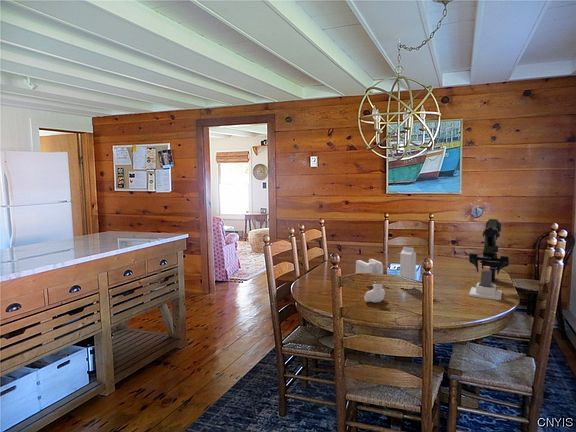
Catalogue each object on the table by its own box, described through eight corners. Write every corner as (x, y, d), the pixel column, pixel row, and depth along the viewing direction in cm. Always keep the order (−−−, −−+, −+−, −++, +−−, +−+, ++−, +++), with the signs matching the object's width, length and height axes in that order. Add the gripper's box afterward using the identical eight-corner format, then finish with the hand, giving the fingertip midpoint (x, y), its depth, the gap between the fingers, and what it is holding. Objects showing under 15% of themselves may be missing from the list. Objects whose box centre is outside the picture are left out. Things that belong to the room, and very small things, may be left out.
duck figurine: (366, 308, 192) (376, 293, 185) (358, 295, 197) (367, 280, 190) (385, 304, 198) (396, 289, 191) (376, 291, 203) (387, 277, 196)
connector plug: (480, 290, 208) (482, 265, 206) (490, 291, 206) (491, 266, 204) (480, 292, 204) (481, 267, 203) (490, 293, 202) (491, 268, 200)
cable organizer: (383, 284, 225) (384, 263, 224) (366, 285, 223) (366, 264, 221) (371, 277, 240) (371, 258, 239) (354, 278, 237) (354, 259, 236)
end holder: (471, 289, 214) (472, 280, 214) (501, 292, 208) (502, 283, 207) (468, 296, 202) (469, 286, 202) (500, 300, 195) (501, 290, 195)
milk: (404, 285, 221) (405, 245, 219) (415, 288, 217) (416, 247, 215) (399, 288, 217) (400, 247, 215) (410, 290, 213) (411, 248, 211)
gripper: (470, 238, 218) (467, 262, 210) (509, 240, 209) (508, 266, 201) (470, 250, 226) (468, 274, 217) (509, 253, 217) (507, 278, 208)
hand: (487, 273), depth 211 cm, fingers open, 9 cm apart
